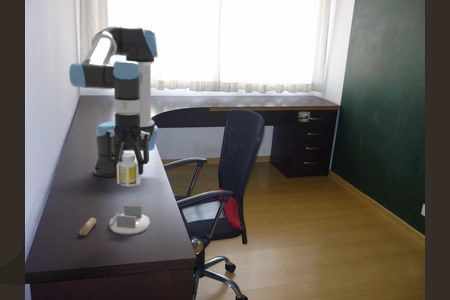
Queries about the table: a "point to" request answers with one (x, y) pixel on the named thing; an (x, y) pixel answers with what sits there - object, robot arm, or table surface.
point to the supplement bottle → (128, 170)
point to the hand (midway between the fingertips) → (128, 182)
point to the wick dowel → (87, 227)
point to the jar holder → (129, 221)
